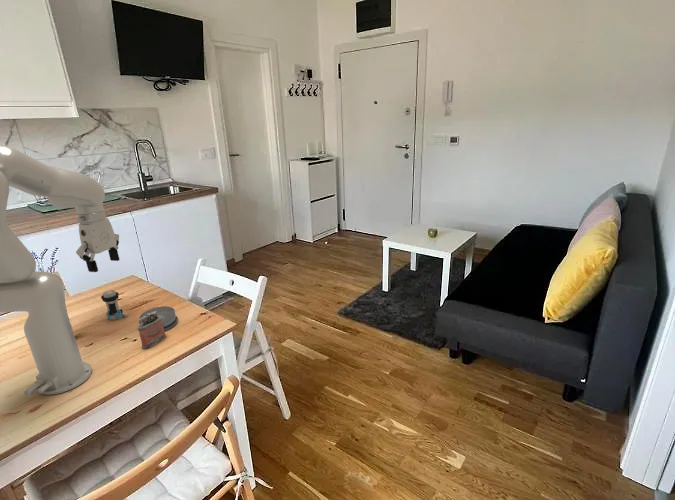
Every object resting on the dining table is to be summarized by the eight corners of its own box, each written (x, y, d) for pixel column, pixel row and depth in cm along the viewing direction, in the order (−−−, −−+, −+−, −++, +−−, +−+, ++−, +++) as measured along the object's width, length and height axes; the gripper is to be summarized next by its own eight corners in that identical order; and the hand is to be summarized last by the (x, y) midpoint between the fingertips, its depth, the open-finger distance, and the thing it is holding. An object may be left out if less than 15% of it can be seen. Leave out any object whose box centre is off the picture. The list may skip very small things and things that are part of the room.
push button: (130, 313, 139) (124, 288, 135) (124, 320, 134) (118, 294, 131) (110, 315, 138) (104, 290, 135) (104, 322, 133) (97, 296, 130)
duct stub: (164, 335, 124) (162, 324, 123) (131, 332, 126) (129, 322, 125) (185, 316, 135) (183, 306, 134) (154, 314, 137) (152, 304, 136)
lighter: (161, 334, 125) (155, 307, 121) (168, 336, 123) (162, 309, 120) (139, 347, 118) (132, 319, 115) (147, 350, 117) (140, 321, 113)
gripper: (80, 225, 115) (94, 277, 121) (121, 210, 131) (132, 257, 137) (59, 224, 116) (74, 275, 122) (102, 209, 132) (113, 256, 138)
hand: (104, 265), depth 129 cm, fingers open, 9 cm apart
